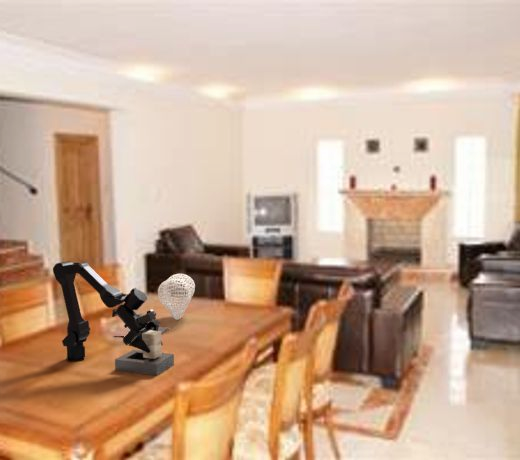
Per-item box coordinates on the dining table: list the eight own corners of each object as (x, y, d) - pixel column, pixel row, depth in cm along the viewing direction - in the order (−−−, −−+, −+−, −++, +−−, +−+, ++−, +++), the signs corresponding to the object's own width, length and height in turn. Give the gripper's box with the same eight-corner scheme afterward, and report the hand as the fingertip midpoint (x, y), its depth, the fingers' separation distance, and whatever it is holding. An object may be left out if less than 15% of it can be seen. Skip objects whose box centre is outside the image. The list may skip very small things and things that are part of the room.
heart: (169, 312, 312) (168, 271, 310) (197, 313, 311) (197, 271, 309) (155, 326, 285) (154, 281, 282) (186, 327, 283) (185, 281, 281)
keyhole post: (141, 367, 222) (140, 333, 221) (150, 362, 228) (149, 329, 226) (155, 369, 220) (154, 335, 219) (163, 364, 226) (162, 331, 224)
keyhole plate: (115, 370, 222) (114, 359, 222) (133, 359, 234) (133, 349, 234) (157, 375, 216) (156, 364, 216) (173, 364, 228) (173, 354, 228)
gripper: (129, 309, 214) (156, 342, 212) (155, 299, 232) (180, 329, 229) (111, 329, 218) (137, 361, 215) (138, 317, 235) (163, 346, 232)
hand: (155, 348), depth 223 cm, fingers open, 9 cm apart
